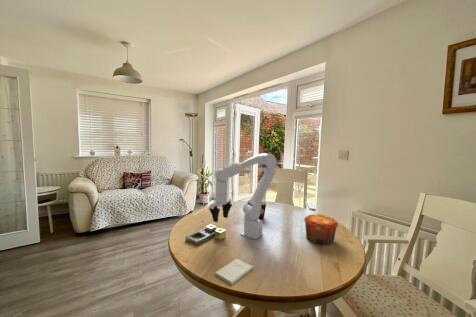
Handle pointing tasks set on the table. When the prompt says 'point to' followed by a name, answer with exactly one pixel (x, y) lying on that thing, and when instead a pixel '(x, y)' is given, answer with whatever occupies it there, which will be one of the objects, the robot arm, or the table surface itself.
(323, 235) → the food container
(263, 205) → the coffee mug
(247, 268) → the external hard drive
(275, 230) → the table surface
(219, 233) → the tan wooden cube
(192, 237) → the grey rectangular slotted frame
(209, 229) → the cube with domed knob
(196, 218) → the table surface
